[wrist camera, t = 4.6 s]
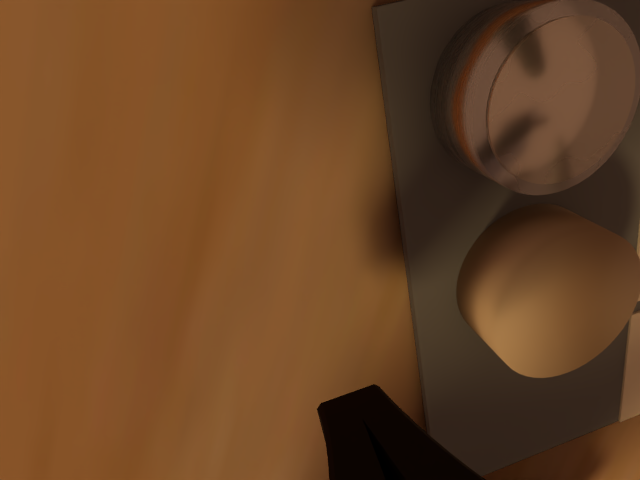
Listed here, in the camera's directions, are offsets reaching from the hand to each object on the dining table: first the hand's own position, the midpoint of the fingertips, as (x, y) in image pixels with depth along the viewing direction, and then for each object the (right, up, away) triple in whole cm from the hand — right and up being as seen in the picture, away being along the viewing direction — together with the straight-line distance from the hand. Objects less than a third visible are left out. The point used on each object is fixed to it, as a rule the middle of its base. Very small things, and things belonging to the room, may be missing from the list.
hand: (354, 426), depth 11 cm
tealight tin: (+4, +8, +1) cm, 9 cm away
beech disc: (+5, +3, +4) cm, 7 cm away
